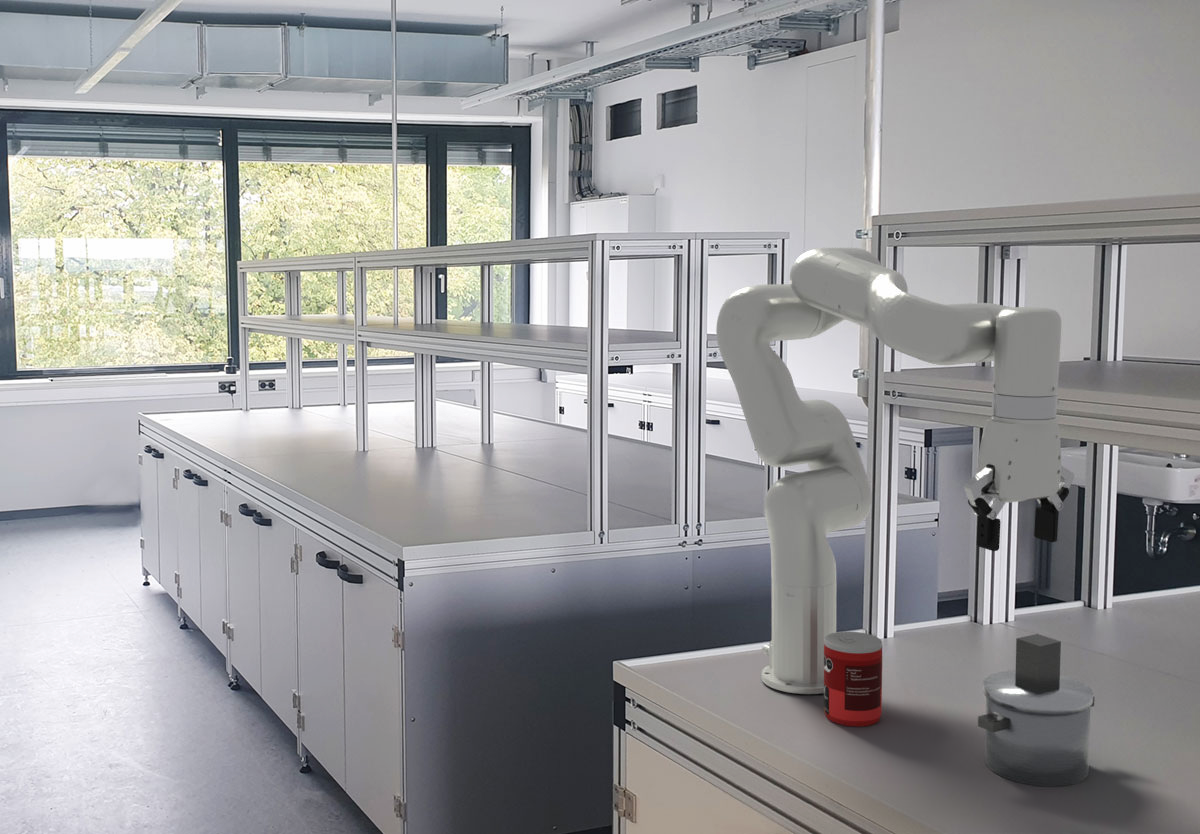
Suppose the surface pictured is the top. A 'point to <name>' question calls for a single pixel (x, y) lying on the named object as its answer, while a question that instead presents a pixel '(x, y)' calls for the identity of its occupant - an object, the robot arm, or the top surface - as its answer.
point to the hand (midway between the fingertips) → (1016, 544)
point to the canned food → (853, 678)
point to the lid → (1038, 681)
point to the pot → (1036, 745)
